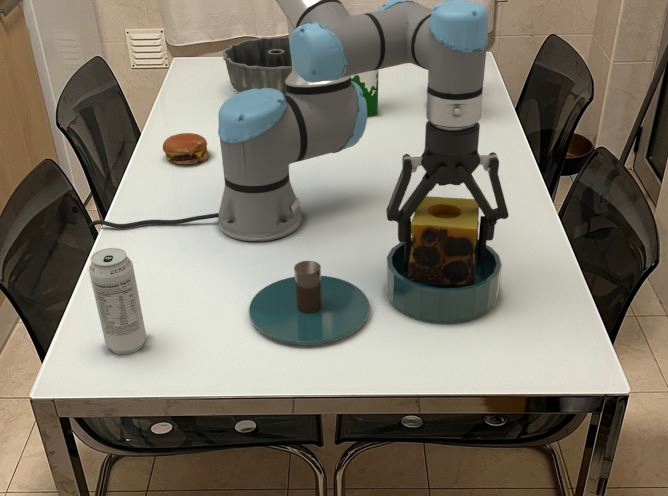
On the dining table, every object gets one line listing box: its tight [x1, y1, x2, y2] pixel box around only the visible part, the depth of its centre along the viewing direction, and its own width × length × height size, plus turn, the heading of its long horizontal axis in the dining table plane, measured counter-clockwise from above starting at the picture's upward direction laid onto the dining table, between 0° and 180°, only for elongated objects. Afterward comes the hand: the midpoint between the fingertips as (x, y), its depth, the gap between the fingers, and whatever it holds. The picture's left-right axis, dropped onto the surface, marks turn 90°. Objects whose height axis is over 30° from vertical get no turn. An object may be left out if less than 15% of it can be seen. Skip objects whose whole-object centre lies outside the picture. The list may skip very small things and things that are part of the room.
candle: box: [408, 195, 480, 286], centre depth 128 cm, size 10×10×10 cm
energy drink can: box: [88, 247, 147, 355], centre depth 120 cm, size 6×6×15 cm
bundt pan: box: [222, 36, 292, 95], centre depth 208 cm, size 26×26×10 cm
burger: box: [162, 132, 210, 165], centre depth 177 cm, size 10×9×5 cm
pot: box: [385, 237, 503, 325], centre depth 132 cm, size 18×18×6 cm
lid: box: [248, 260, 370, 346], centre depth 127 cm, size 19×19×8 cm
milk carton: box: [351, 70, 379, 117], centre depth 192 cm, size 9×9×20 cm
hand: (443, 258), depth 130 cm, fingers closed on candle, 11 cm apart
